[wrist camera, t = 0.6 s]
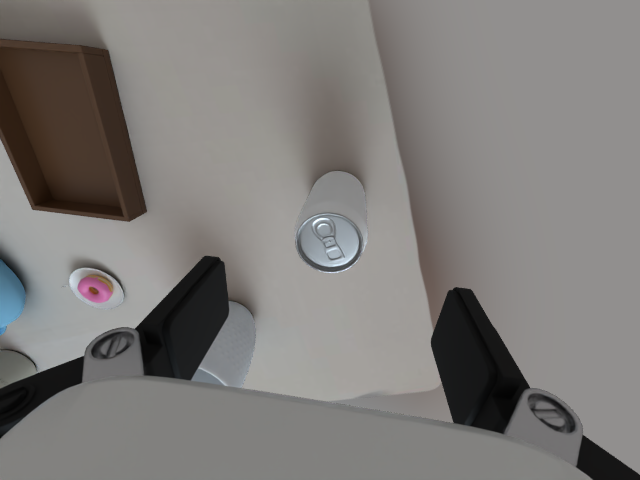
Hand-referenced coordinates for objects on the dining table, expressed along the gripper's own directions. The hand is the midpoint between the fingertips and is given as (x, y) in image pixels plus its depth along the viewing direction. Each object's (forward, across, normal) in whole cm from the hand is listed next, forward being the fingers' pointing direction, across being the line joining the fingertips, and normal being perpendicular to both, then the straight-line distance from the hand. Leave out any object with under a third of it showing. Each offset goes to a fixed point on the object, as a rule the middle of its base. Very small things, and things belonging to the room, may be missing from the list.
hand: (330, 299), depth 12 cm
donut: (+23, +39, +23) cm, 51 cm away
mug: (+23, +16, +26) cm, 38 cm away
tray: (+23, +33, -1) cm, 40 cm away
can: (+23, +1, +3) cm, 23 cm away
